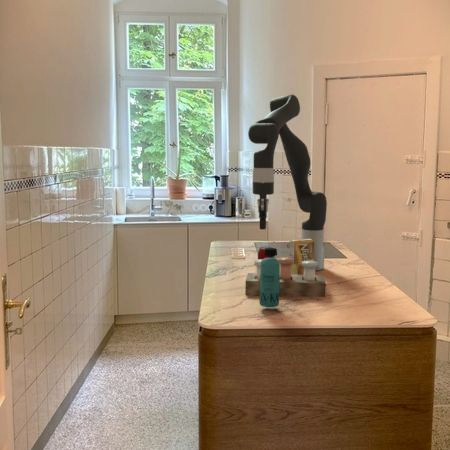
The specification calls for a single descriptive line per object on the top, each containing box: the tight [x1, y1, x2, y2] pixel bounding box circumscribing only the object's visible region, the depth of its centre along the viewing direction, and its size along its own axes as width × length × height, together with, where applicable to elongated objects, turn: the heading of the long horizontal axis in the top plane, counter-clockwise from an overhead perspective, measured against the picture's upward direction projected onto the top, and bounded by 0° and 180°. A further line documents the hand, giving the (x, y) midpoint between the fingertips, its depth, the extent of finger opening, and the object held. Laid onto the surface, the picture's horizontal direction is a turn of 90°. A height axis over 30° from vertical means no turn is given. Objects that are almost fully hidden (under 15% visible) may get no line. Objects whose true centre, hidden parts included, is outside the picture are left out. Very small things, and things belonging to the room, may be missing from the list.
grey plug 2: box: [302, 261, 318, 281], centre depth 192 cm, size 6×6×10 cm
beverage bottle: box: [258, 247, 280, 308], centre depth 171 cm, size 6×7×20 cm
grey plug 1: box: [253, 259, 263, 279], centre depth 194 cm, size 6×6×10 cm
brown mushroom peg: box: [277, 256, 294, 280], centre depth 193 cm, size 6×6×10 cm
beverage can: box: [257, 246, 276, 260], centre depth 215 cm, size 7×7×12 cm
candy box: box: [289, 238, 314, 275], centre depth 214 cm, size 9×4×15 cm, turn 110°
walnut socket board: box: [244, 272, 327, 298], centre depth 193 cm, size 28×12×5 cm, turn 84°
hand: (262, 229), depth 191 cm, fingers closed
